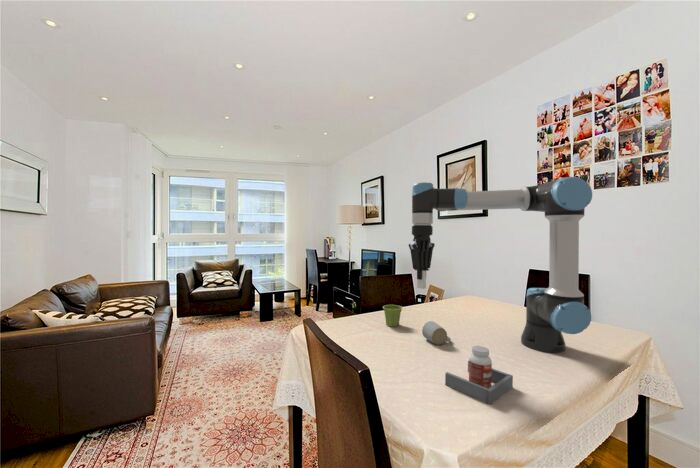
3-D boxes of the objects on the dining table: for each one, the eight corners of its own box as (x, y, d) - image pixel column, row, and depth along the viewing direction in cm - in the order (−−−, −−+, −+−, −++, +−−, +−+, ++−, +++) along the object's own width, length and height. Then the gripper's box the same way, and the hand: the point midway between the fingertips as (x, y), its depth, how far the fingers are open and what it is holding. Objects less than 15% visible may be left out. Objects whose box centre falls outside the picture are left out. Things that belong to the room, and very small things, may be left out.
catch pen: (445, 384, 92) (445, 373, 92) (469, 370, 101) (469, 360, 101) (490, 404, 82) (490, 391, 82) (512, 387, 91) (512, 375, 91)
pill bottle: (486, 393, 87) (487, 354, 87) (465, 385, 92) (465, 348, 91) (494, 385, 92) (495, 348, 92) (473, 378, 96) (474, 343, 96)
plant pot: (390, 329, 143) (390, 310, 142) (378, 323, 151) (379, 305, 151) (406, 326, 147) (406, 308, 147) (394, 321, 155) (394, 303, 155)
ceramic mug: (432, 346, 122) (433, 327, 122) (421, 339, 129) (421, 321, 129) (455, 344, 125) (455, 325, 125) (442, 337, 133) (443, 319, 133)
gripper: (424, 225, 122) (423, 284, 122) (402, 224, 114) (402, 288, 114) (441, 225, 116) (440, 287, 117) (419, 224, 108) (418, 291, 108)
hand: (421, 287), depth 115 cm, fingers closed
